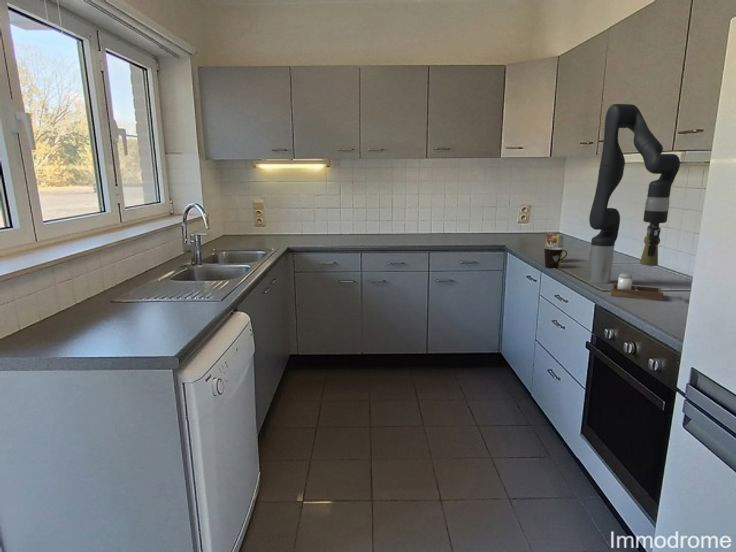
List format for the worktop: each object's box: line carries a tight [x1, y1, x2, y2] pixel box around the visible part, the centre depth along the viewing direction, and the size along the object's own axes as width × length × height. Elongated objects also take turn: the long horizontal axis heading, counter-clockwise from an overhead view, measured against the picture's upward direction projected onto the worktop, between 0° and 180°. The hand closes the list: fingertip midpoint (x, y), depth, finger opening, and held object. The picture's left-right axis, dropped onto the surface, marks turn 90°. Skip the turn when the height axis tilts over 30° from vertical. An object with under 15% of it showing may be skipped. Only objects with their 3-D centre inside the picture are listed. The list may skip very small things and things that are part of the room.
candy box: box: [544, 232, 565, 263], centre depth 253 cm, size 9×4×15 cm, turn 26°
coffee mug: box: [543, 247, 568, 269], centre depth 238 cm, size 12×9×10 cm
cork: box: [639, 236, 661, 267], centre depth 174 cm, size 6×6×11 cm
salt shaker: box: [617, 272, 633, 290], centre depth 181 cm, size 5×5×8 cm
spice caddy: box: [610, 283, 665, 302], centre depth 180 cm, size 9×17×4 cm, turn 64°
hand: (650, 254), depth 174 cm, fingers closed on cork, 4 cm apart
